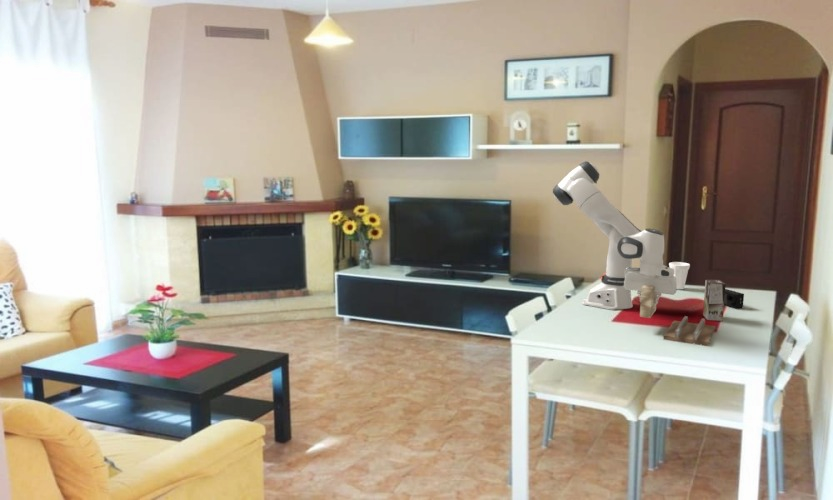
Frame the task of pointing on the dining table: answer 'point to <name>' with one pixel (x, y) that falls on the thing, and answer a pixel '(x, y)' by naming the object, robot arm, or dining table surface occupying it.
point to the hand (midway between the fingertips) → (648, 302)
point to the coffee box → (714, 299)
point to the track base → (690, 332)
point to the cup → (680, 273)
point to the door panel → (647, 301)
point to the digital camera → (733, 299)
